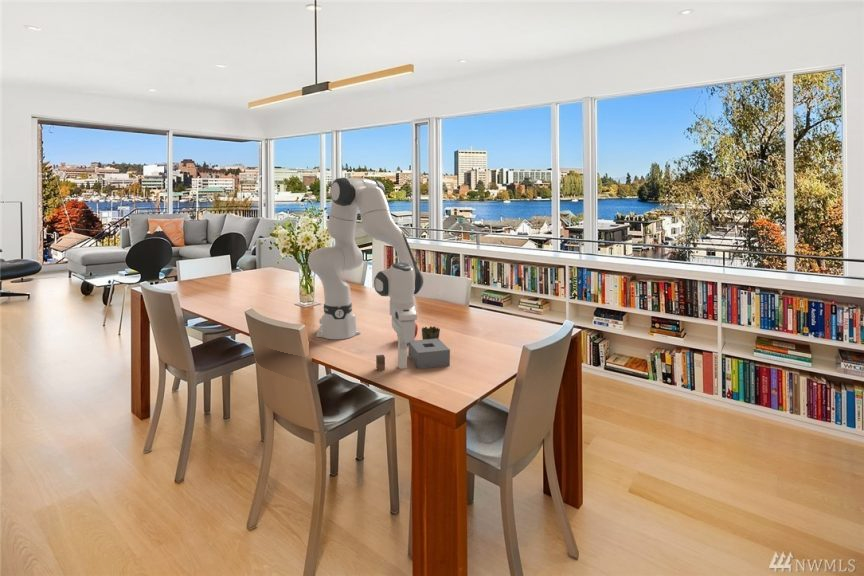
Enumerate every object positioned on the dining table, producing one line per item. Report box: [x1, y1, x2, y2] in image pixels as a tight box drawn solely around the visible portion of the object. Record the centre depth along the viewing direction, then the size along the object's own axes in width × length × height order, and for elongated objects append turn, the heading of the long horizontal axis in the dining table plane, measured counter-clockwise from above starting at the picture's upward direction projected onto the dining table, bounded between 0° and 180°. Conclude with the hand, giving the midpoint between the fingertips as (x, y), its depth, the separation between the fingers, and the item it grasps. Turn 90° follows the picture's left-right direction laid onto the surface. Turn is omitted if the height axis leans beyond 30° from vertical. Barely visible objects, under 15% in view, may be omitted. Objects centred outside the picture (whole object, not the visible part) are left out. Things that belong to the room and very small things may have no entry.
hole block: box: [408, 338, 451, 370], centre depth 177 cm, size 14×12×6 cm
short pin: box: [375, 354, 386, 372], centre depth 168 cm, size 3×3×5 cm
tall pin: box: [397, 335, 408, 370], centre depth 170 cm, size 3×3×12 cm
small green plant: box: [421, 325, 441, 340], centre depth 191 cm, size 8×7×8 cm
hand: (402, 347), depth 169 cm, fingers open, 3 cm apart
